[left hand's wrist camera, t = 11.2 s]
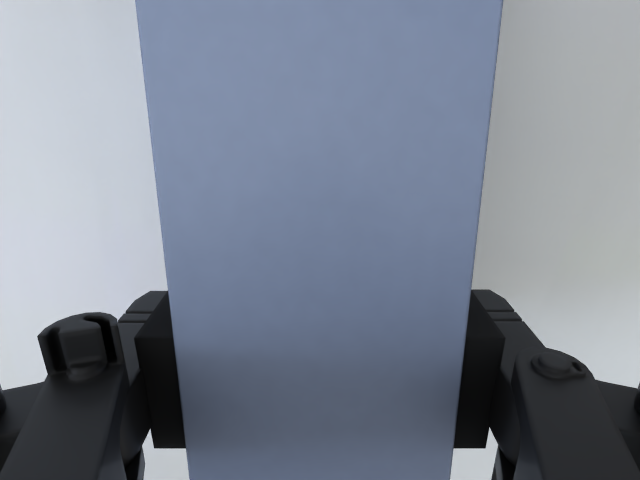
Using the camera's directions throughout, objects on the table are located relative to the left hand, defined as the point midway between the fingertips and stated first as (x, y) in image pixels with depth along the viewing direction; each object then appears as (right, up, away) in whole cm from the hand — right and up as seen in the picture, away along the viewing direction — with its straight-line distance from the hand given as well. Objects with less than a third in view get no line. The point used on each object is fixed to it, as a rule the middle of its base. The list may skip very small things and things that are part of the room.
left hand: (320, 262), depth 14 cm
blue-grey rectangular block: (0, +5, +3) cm, 6 cm away
